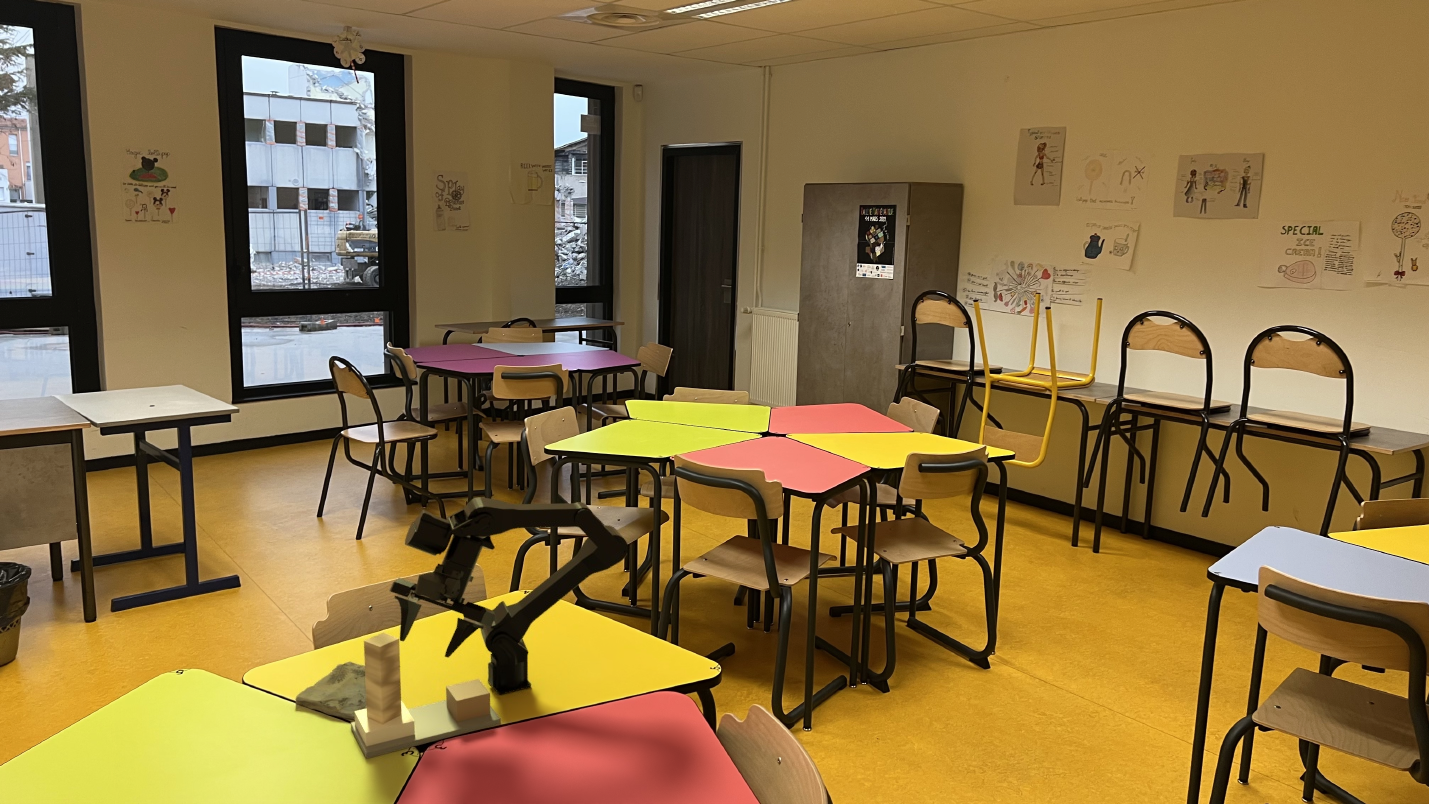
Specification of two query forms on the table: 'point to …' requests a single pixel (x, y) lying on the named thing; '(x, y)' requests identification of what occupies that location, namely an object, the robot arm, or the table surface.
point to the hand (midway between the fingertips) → (423, 649)
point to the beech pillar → (382, 677)
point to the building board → (428, 720)
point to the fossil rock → (337, 692)
